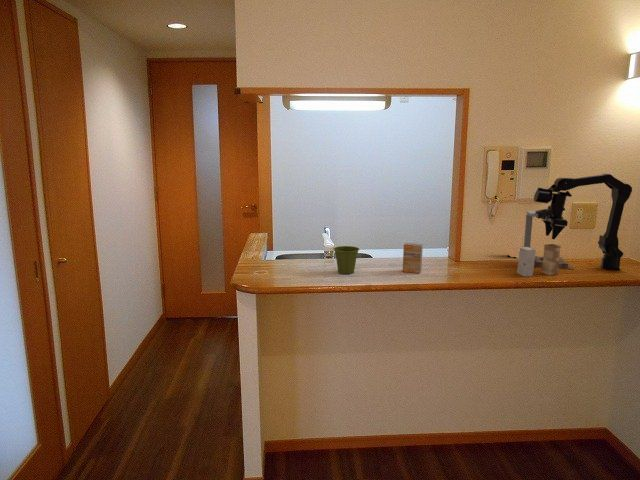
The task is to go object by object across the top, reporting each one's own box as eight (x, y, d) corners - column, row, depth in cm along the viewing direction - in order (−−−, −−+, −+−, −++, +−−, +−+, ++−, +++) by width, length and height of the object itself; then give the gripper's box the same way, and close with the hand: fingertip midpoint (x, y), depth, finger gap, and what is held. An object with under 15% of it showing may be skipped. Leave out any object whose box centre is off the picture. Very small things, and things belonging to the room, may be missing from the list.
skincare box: (516, 273, 204) (518, 247, 202) (525, 272, 205) (527, 246, 203) (524, 276, 198) (526, 249, 196) (533, 276, 199) (536, 249, 197)
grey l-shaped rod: (546, 261, 225) (551, 211, 220) (551, 267, 214) (556, 214, 209) (521, 260, 228) (524, 210, 224) (524, 266, 217) (528, 213, 212)
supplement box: (402, 272, 207) (403, 244, 205) (404, 269, 212) (404, 242, 209) (420, 273, 204) (421, 245, 202) (421, 271, 209) (422, 243, 206)
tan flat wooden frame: (565, 261, 225) (566, 257, 224) (573, 269, 209) (574, 264, 209) (526, 259, 229) (526, 255, 229) (531, 267, 214) (532, 262, 214)
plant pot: (329, 274, 204) (329, 250, 202) (338, 268, 215) (338, 245, 213) (354, 277, 200) (354, 252, 198) (362, 270, 211) (362, 247, 209)
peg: (550, 272, 206) (553, 244, 204) (558, 274, 202) (560, 245, 199) (541, 272, 205) (544, 244, 202) (549, 275, 201) (551, 246, 198)
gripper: (533, 200, 221) (527, 231, 224) (545, 204, 203) (537, 238, 206) (557, 203, 219) (550, 234, 222) (571, 208, 201) (563, 242, 204)
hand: (550, 237), depth 214 cm, fingers open, 9 cm apart
